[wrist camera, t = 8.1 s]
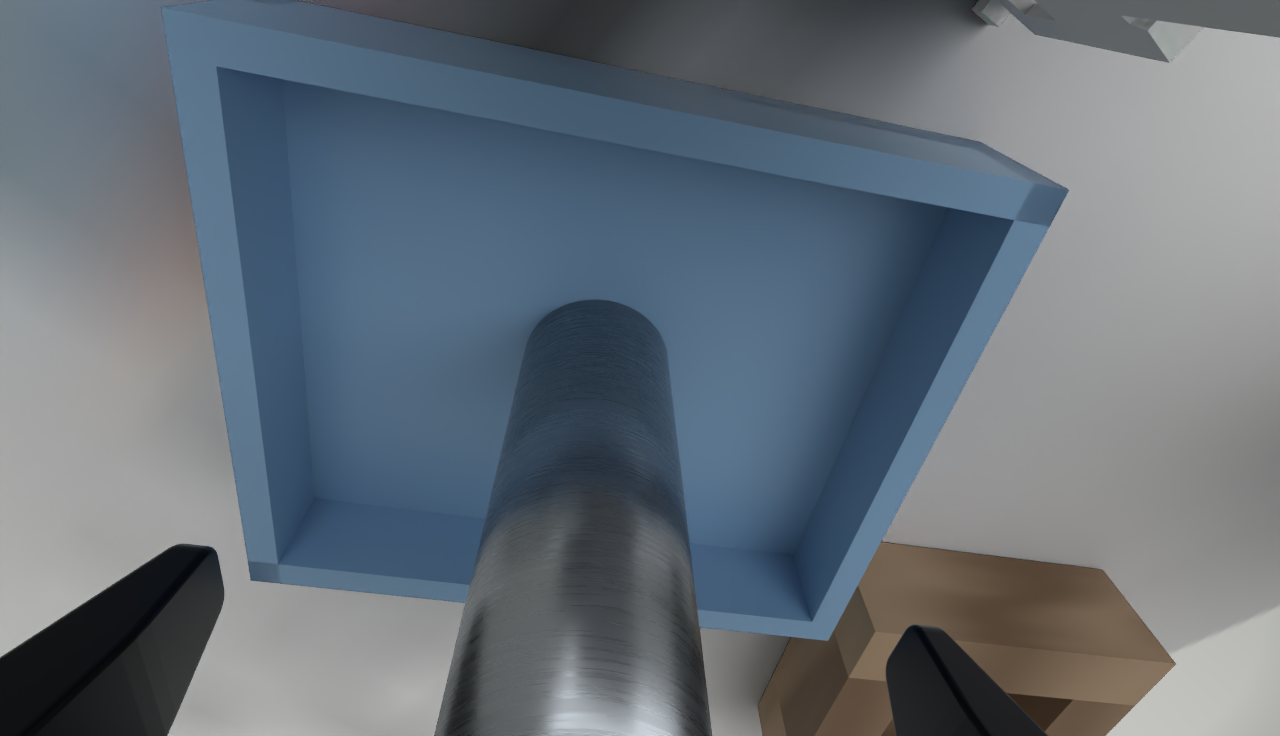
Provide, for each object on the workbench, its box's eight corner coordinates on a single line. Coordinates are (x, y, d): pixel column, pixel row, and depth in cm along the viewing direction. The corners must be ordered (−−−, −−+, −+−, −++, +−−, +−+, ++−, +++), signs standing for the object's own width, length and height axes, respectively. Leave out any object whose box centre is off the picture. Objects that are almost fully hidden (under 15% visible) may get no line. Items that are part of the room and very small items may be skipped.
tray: (980, 142, 13) (1069, 190, 10) (799, 545, 19) (828, 641, 16) (264, -6, 11) (160, 7, 9) (306, 485, 17) (250, 580, 14)
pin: (712, 294, 13) (918, 1065, 4) (669, 450, 15) (742, 1194, 6) (508, 260, 13) (232, 1045, 4) (492, 426, 15) (287, 1194, 6)
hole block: (1102, 569, 19) (1176, 664, 17) (977, 726, 24) (1021, 820, 21) (840, 537, 18) (875, 631, 16) (757, 706, 23) (775, 802, 20)
